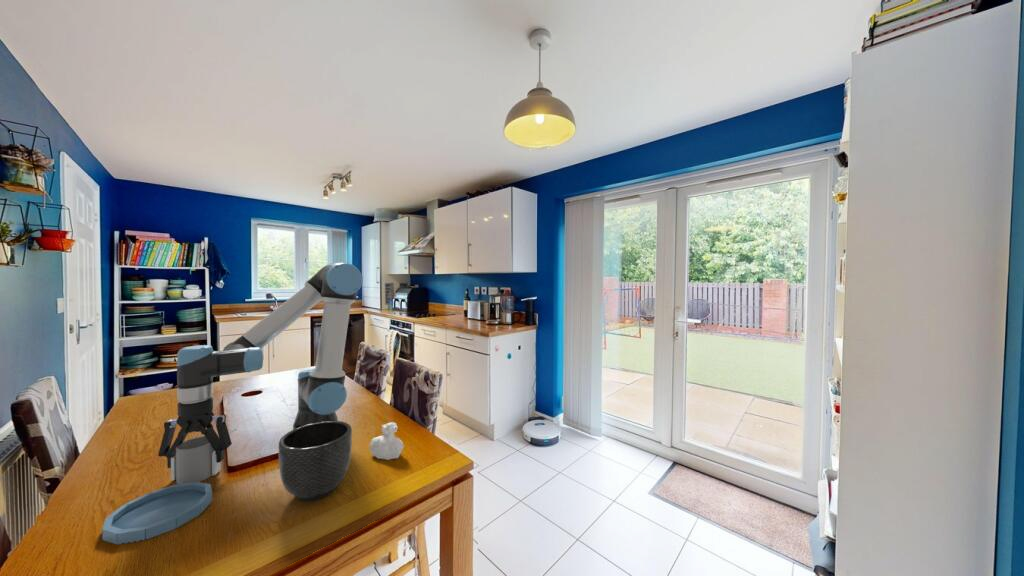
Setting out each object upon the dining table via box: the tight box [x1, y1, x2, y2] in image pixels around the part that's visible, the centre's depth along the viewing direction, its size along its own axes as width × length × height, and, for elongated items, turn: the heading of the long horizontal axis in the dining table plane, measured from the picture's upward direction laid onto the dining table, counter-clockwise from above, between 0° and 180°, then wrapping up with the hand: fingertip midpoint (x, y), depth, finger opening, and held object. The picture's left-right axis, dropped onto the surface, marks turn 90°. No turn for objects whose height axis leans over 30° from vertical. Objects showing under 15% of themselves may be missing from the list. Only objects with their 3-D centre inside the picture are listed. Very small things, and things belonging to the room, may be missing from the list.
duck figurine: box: [369, 421, 404, 461], centre depth 110 cm, size 12×8×11 cm
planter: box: [278, 420, 353, 503], centre depth 90 cm, size 17×17×16 cm
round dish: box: [101, 481, 213, 545], centre depth 81 cm, size 18×18×2 cm
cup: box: [175, 435, 215, 484], centre depth 97 cm, size 8×8×10 cm
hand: (196, 475), depth 97 cm, fingers open, 9 cm apart
